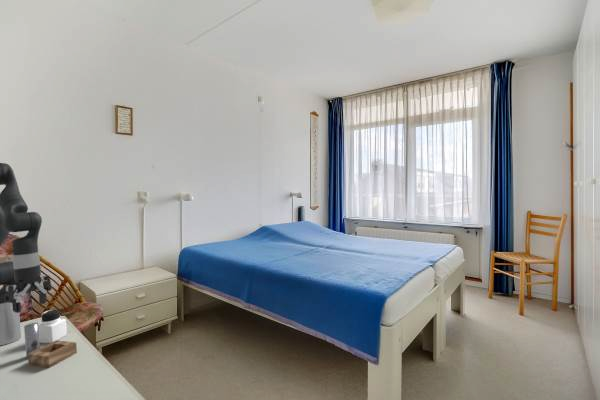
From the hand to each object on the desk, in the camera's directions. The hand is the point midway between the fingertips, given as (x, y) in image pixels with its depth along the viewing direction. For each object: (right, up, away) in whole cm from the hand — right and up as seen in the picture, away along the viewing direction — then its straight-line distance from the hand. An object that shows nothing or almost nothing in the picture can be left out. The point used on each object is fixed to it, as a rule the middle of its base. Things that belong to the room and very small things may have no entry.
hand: (30, 307), depth 115 cm
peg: (+1, -19, +1) cm, 19 cm away
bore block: (+10, -18, -2) cm, 21 cm away
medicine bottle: (-3, -18, +14) cm, 23 cm away
